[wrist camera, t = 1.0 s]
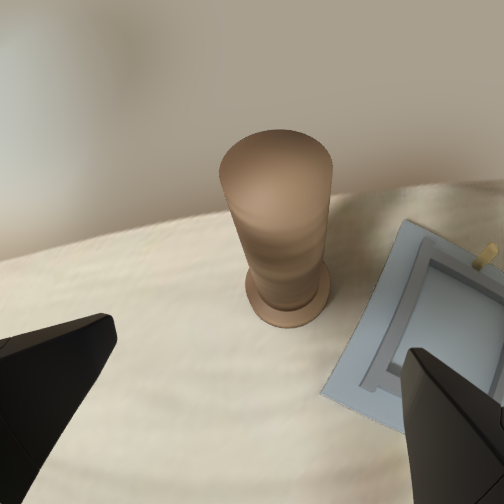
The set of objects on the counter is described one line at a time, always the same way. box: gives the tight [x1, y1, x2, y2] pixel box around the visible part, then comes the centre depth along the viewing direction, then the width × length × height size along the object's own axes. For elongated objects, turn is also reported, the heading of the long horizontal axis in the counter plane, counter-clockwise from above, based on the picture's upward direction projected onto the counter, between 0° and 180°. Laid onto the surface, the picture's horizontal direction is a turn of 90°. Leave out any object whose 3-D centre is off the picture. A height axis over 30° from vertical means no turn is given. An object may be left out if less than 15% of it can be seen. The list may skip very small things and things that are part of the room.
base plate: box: [320, 219, 504, 434], centre depth 17 cm, size 15×15×4 cm
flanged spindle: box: [219, 130, 333, 328], centre depth 17 cm, size 6×6×13 cm
